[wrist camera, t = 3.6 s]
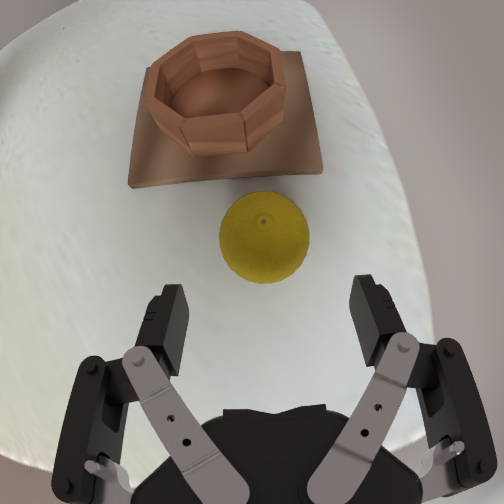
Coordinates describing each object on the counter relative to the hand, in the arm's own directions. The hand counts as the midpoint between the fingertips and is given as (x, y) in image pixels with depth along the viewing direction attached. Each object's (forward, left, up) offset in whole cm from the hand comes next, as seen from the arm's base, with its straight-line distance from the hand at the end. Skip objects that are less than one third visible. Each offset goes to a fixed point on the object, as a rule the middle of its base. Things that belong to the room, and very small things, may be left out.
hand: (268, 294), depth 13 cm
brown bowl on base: (-3, +17, -8) cm, 19 cm away
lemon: (0, +4, -9) cm, 9 cm away
